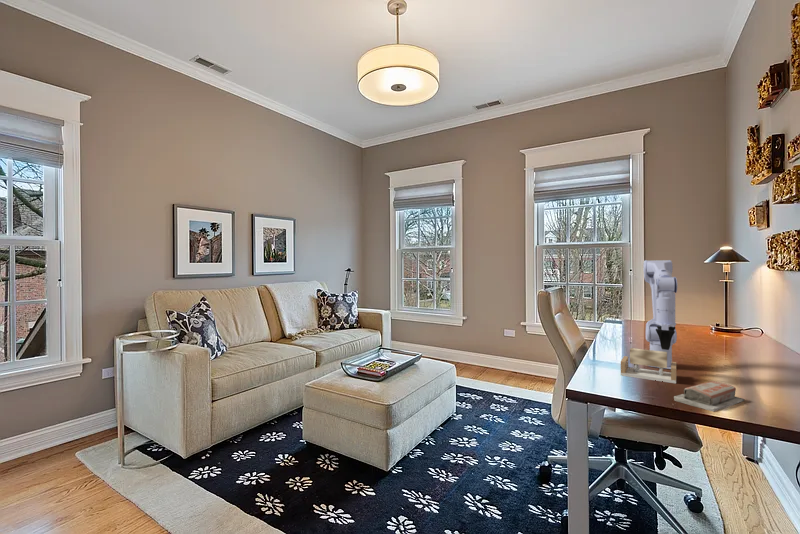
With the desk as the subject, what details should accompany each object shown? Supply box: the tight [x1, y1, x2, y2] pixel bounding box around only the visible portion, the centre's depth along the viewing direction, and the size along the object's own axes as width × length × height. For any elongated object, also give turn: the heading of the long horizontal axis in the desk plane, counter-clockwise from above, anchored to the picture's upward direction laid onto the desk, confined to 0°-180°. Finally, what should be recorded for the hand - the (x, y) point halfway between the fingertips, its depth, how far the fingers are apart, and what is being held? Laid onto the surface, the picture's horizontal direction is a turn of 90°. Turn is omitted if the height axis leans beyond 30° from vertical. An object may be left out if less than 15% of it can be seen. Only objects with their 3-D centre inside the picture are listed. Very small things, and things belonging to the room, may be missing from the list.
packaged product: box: [673, 380, 745, 413], centre depth 111 cm, size 18×5×10 cm
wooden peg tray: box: [620, 355, 677, 384], centre depth 137 cm, size 11×16×5 cm
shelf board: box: [629, 347, 667, 369], centre depth 137 cm, size 11×4×5 cm, turn 53°
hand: (665, 347), depth 138 cm, fingers open, 7 cm apart
